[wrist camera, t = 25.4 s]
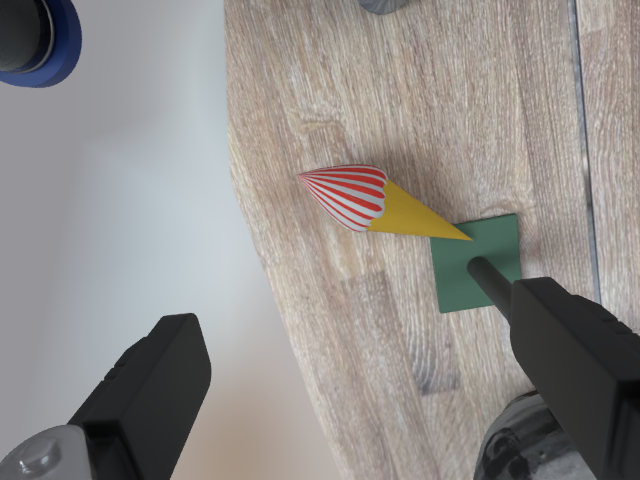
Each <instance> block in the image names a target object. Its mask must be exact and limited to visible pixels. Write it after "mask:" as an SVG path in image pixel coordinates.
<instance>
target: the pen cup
mask: <svg viewBox="0 0 640 480" xmlns="http://www.w3.org/2000/svg"><path fill="white" fill-rule="evenodd" d="M358 2H359V3H360V4H361V6H362V7H364V8H365V9H366V10H368V11H369V12H372V13H375V14H389V13H392V12H394V11H396V10H398V9H399V8H400V7H402V6H403V5H404V4H405V3H406V2H407V0H358Z"/></svg>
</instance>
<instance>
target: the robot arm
mask: <svg viewBox="0 0 640 480" xmlns="http://www.w3.org/2000/svg"><path fill="white" fill-rule="evenodd" d="M56 40H57V28H56V22H55V18H54V14H53V12H52V9H51V7H50V5H49V3H48V1H47V0H0V70H1V71H5V72H9V73H16V74H27V73H31V72H34V71H37V70H39V69H40V68H42V67H43V66H44V65H45V64H46V63H47V62H48V61H49V59H50V58H51V56H52V54H53V52H54V49H55V46H56ZM510 341H511V346H512V350H513V353H514V356H515V358H516V360H517V362H518V363H519V365H520V366H521V368H522V369H523V371H524V372H525V373H526V375H527V376H528V378H529V379H530V381H531V382H532V384H533V385H534V387H535V388H536V390H537V391H538V393H539V394H540V396H541V397H542V399H543V400H544V402H545V403H546V405H547V406H548V408H549V409H550V411H551V412H552V414H553V415H554V417H555V418H556V420H557V421H558V423H559V424H560V425H561V427H562V428H563V430H564V431H565V433H566V434H567V436H568V437H569V439H570V440H571V442H572V443H573V445H574V446H575V448H576V449H577V451H578V452H579V454H580V455H581V457H582V458H583V460H584V461H585V463H586V464H587V466H588V467H589V469H590V470H591V472H592V473H593V475H594V476H595V478H596V479H597V480H640V336H638V335H637V334H636V333H632V330H631V329H630V328H629V327H627V326H626V325H625V324H624V323H622V322H621V321H619V322H618V319H617V318H616V317H615V316H614V315H612V314H611V313H610V312H609V311H607V310H606V309H605V308H604V307H603V306H601V305H600V304H597V303H595V302H593V301H591V300H588V299H586V298H584V297H582V296H579V295H571V294H570V293H569V292H567V291H566V290H565V289H564V288H563V287H562V286H560V285H559V284H558V283H557V282H556V281H555V280H554V279H552V278H551V277H539V278H530V279H520V280H515V281H514V283H513V285H512V293H511V320H510ZM210 381H211V363H210V359H209V355H208V352H207V349H206V345H205V342H204V338H203V335H202V331H201V328H200V324H199V321H198V318H197V316H196V315H195V314H194V313H186V314H177V315H167V316H163V317H162V318H161V319H160V320H159V321H158V323H157V324H156V325H155V327H154V328H153V329H152V331H151V332H150V333H149V334H148V336H147V337H143V338H142V339H140V340H139V341H138V342H137V343H135V344H134V345H132V346H131V347H130V348H128V349H127V350H126V351H125V352H124V354H123V355H122V356H121V357H120V359H119V360H118V361H117V362H116V364H115V365H114V368H112V369H111V370H110V371H109V372H108V373H107V375H106V376H105V377H104V381H101V382H100V383H99V385H98V386H97V387H96V388H95V389H94V391H93V392H92V393H91V394H90V396H89V397H88V398H87V399H86V401H85V402H84V403H83V404H82V406H81V407H80V408H79V409H78V410H77V412H76V413H75V414H74V416H73V417H72V418H71V419H70V420H69V422H68V423H67V424H66V425H60V426H56V427H53V428H49V429H47V430H44V431H42V432H40V433H38V434H36V435H34V436H32V437H30V438H29V439H27V440H25V441H24V442H23V443H21V444H20V445H18V446H17V447H16V448H15V449H13V450H12V451H11V452H10V453H9V454H8V455H7V456H6V457H5V458H4V459H3V460H2V461H1V463H0V480H170V478H171V475H172V473H173V470H174V468H175V466H176V464H177V461H178V459H179V457H180V454H181V452H182V450H183V447H184V445H185V442H186V440H187V438H188V435H189V433H190V431H191V428H192V426H193V424H194V421H195V419H196V417H197V414H198V412H199V409H200V407H201V405H202V403H203V400H204V398H205V396H206V393H207V391H208V389H209V386H210Z"/></svg>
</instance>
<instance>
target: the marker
mask: <svg viewBox="0 0 640 480" xmlns="http://www.w3.org/2000/svg"><path fill="white" fill-rule="evenodd" d="M467 271H468V273H469V274H470V275H471V277H472V278H473V279H474V280H475V282H476V283H477V284H478V285H479V286H480V288H481V289H482V290H483V291H484V293H485V294H486V295H487V296H488V297H489V299H490V300H491V301H492V302H493V304H494V305H495V306H496V307H497V308H498V310H499V311H500V312H501V313H502V315H503V316H504V317H505V318H506V319H507V321H508V323H509V325H510V320H511V293H512V285H513V284H512V283H511V282H510V281H509V280H507V279H506V278H505V277H504V276H503V275H502V274H501V273H500V272H499V271H498V270H497V269H496V268H495V267H494V266H493V265H492V264H491V263H490V262H489V261H488V260H487V259H486V258H484V257H475V258H473V259H471V260H470V261H469V263H468V265H467Z"/></svg>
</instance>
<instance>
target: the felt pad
mask: <svg viewBox="0 0 640 480" xmlns="http://www.w3.org/2000/svg"><path fill="white" fill-rule="evenodd" d="M453 226H454V227H455V228H457V229H458V230H460V231H461V232H462V233H464V234H465V235H467V236H468V237H469V238H471V239H472V240H473V241H472V240H461V239H451V238H440V237H430V243H431V251H432V258H433V266H434V273H435V280H436V288H437V295H438V303H439V310H440V313H447V312H454V311H460V310H466V309H472V308H478V307H484V306H491V305H494V304H493V302H492V301H491V300H490V299H489V297H488V296H487V295H486V294H485V293H484V291H483V290H482V289H481V288H480V286H479V285H478V284H477V283H476V282H475V280H474V279H473V278H472V277H471V275H470V274H469V273H468V271H467V265H468V263H469V261H470V260H471V259H473V258H475V257H484V258H486V259H487V260H488V261H489V262H490V263H491V264H492V265H493V266H494V267H495V268H496V269H497V270H498V271H499V272H500V273H501V274H502V275H503V276H504V277H505V278H506V279H507V280H509V281H510V282H511V283H512V284H513V283H514V281H515V280H520V279H521V268H520V252H519V237H518V222H517V214H515V213H514V214H508V215H503V216H498V217H492V218H487V219H481V220H476V221H471V222H465V223H460V224H454V225H453Z"/></svg>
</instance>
